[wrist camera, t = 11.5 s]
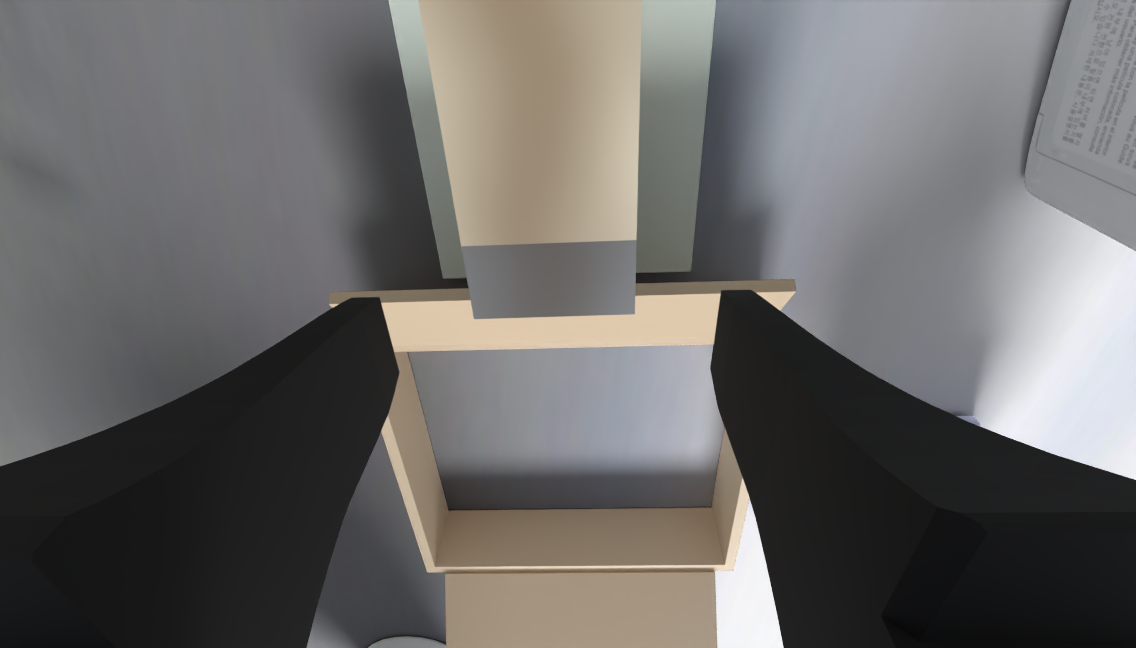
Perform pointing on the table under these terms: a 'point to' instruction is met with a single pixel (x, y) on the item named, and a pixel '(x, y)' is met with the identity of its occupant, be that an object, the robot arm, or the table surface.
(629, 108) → the block
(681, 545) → the carton
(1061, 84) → the photo printer
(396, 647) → the vase
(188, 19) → the table surface
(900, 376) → the table surface
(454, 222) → the mat
